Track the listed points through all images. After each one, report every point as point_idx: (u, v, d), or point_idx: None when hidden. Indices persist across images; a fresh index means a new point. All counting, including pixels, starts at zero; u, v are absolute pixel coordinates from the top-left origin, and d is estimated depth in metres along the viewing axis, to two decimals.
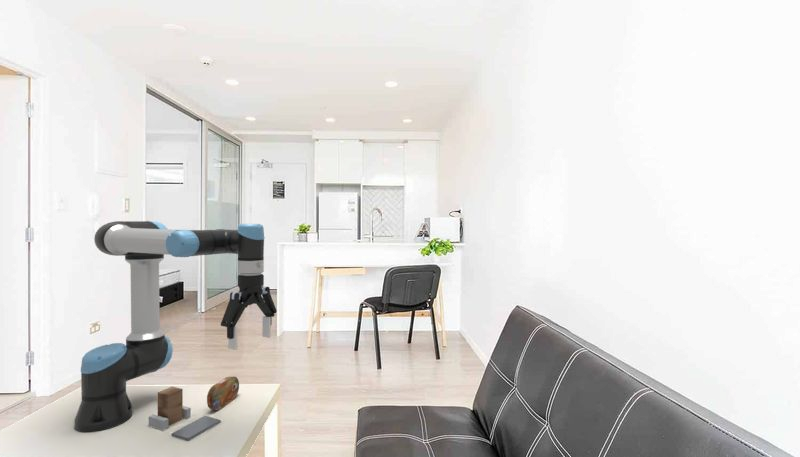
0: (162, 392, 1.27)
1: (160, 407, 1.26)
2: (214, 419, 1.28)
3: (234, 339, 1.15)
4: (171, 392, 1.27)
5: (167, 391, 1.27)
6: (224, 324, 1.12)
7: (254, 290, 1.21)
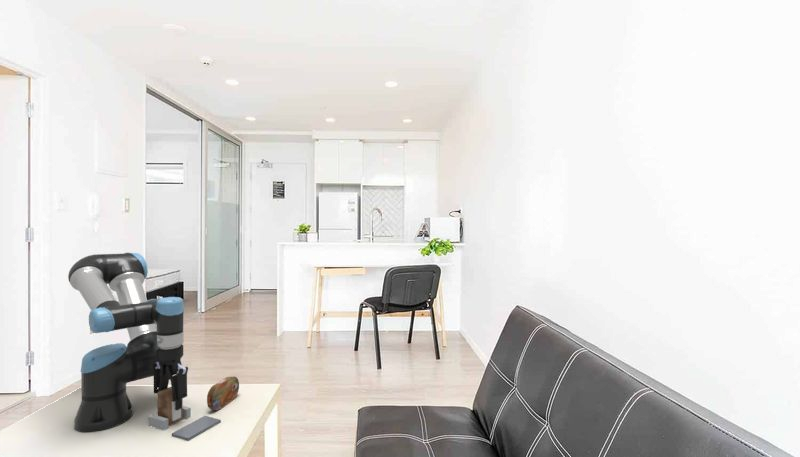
0: (162, 392, 1.27)
1: (160, 407, 1.26)
2: (214, 419, 1.28)
3: None
4: (171, 392, 1.27)
5: (167, 391, 1.27)
6: None
7: (167, 362, 1.27)
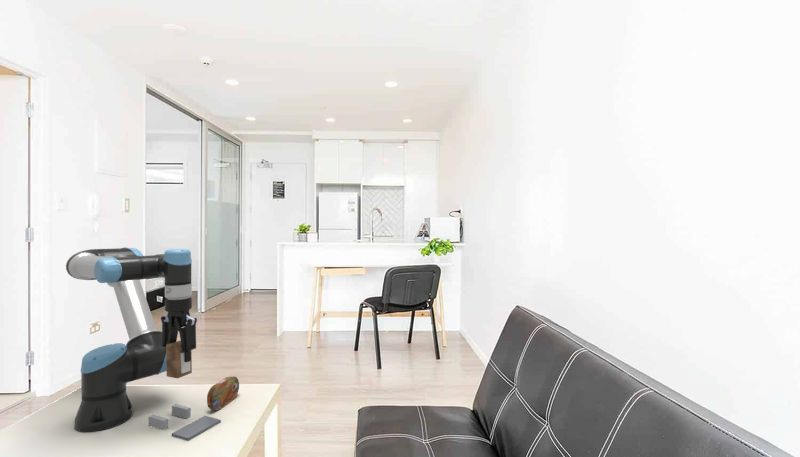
0: (171, 344, 1.25)
1: (169, 359, 1.24)
2: (214, 419, 1.28)
3: None
4: (180, 344, 1.25)
5: (176, 343, 1.25)
6: None
7: (176, 314, 1.25)
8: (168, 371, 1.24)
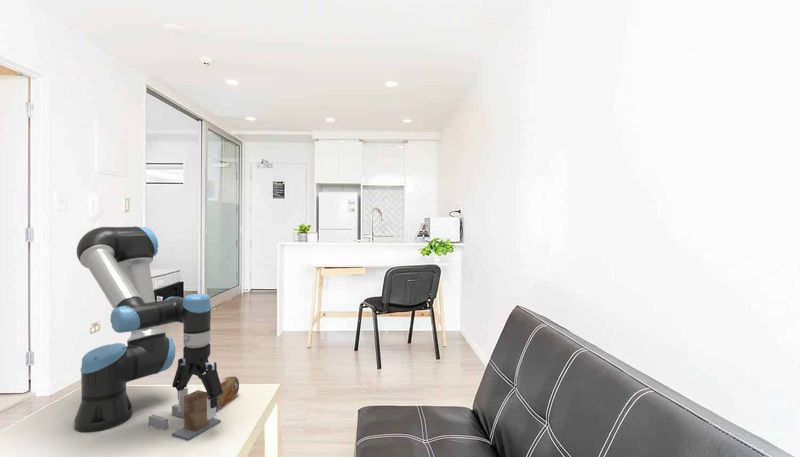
0: (189, 396, 1.22)
1: (187, 411, 1.22)
2: (214, 419, 1.28)
3: None
4: (198, 396, 1.22)
5: (194, 395, 1.23)
6: None
7: (194, 362, 1.22)
8: (185, 423, 1.22)
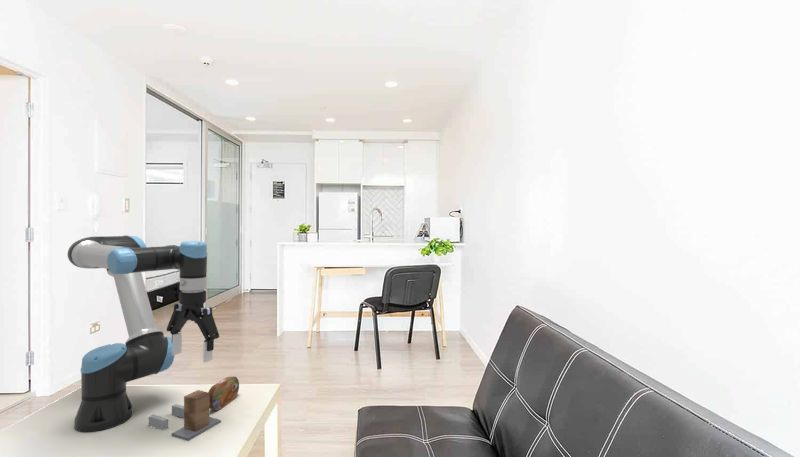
0: (189, 396, 1.22)
1: (187, 411, 1.22)
2: (214, 419, 1.28)
3: None
4: (198, 396, 1.22)
5: (194, 395, 1.23)
6: None
7: (190, 307, 1.23)
8: (185, 423, 1.22)
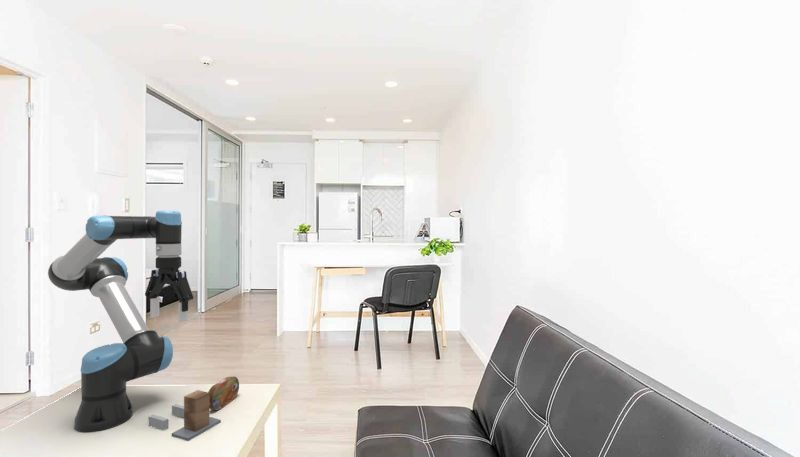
0: (189, 396, 1.22)
1: (187, 411, 1.22)
2: (214, 419, 1.28)
3: None
4: (198, 396, 1.22)
5: (194, 395, 1.23)
6: None
7: (166, 271, 1.32)
8: (185, 423, 1.22)
